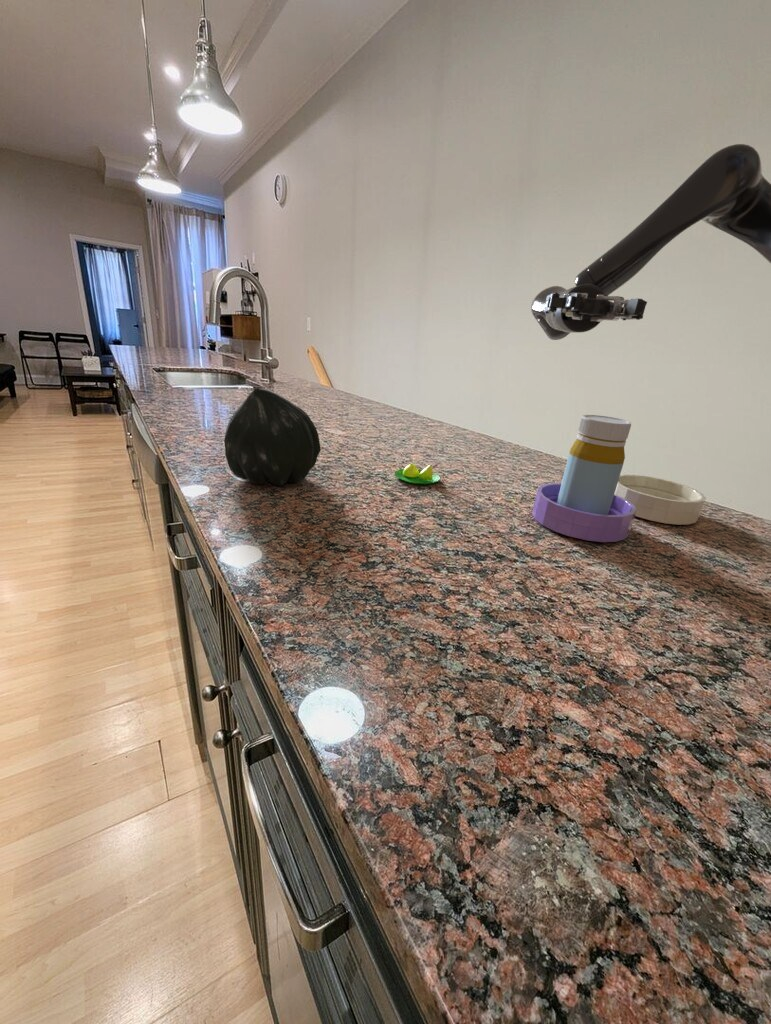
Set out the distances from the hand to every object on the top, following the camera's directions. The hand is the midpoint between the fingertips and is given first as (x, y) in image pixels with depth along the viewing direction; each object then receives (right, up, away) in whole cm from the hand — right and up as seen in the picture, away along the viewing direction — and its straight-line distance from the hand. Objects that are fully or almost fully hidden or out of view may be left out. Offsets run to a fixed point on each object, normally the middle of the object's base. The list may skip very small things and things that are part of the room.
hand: (608, 304), depth 64 cm
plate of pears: (-27, -24, +14) cm, 39 cm away
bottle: (-4, -31, +1) cm, 32 cm away
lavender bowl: (-4, -32, +1) cm, 32 cm away
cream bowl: (+12, -30, +10) cm, 33 cm away
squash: (-50, -25, +8) cm, 57 cm away
